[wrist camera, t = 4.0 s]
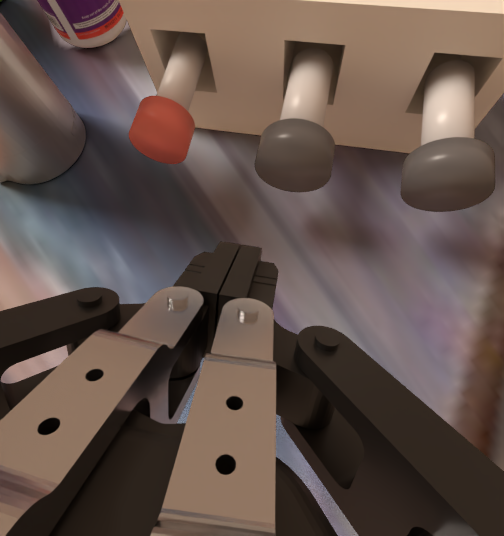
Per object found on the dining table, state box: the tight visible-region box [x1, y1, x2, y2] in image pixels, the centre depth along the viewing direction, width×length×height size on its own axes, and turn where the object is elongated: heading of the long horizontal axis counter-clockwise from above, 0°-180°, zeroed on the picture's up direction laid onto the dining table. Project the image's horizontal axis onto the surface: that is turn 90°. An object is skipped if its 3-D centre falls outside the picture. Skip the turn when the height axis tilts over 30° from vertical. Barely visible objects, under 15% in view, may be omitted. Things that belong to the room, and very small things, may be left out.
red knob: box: [129, 32, 207, 164], centre depth 24 cm, size 9×4×4 cm, turn 168°
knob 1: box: [255, 48, 335, 192], centre depth 23 cm, size 9×5×5 cm, turn 168°
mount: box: [119, 0, 504, 153], centre depth 26 cm, size 9×26×12 cm, turn 78°
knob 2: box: [401, 60, 495, 212], centre depth 22 cm, size 9×5×5 cm, turn 168°
